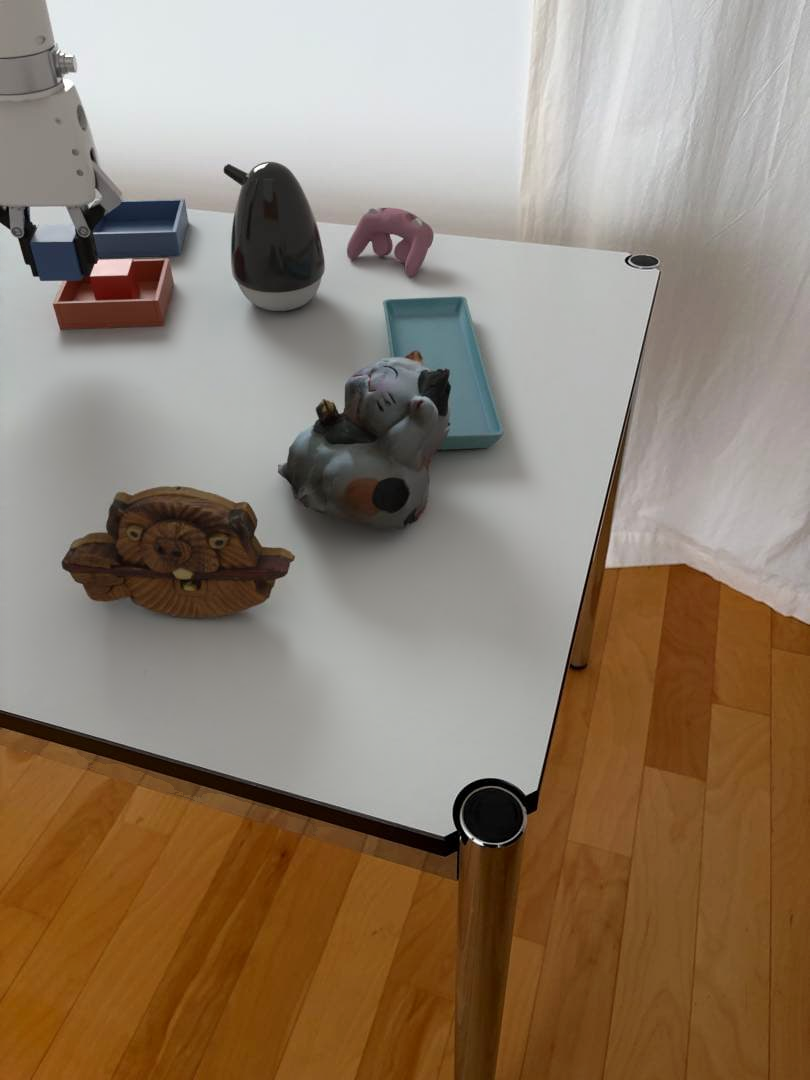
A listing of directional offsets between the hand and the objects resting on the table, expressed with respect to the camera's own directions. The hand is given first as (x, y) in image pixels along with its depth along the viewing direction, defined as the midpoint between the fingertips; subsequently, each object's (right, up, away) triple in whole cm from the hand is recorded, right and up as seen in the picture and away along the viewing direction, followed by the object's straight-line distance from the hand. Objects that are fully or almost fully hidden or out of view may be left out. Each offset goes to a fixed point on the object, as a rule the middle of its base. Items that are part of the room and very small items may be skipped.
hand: (64, 268), depth 89 cm
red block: (+2, 0, +11) cm, 11 cm away
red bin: (+2, -1, +11) cm, 12 cm away
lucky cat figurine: (+30, -23, -12) cm, 40 cm away
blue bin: (0, +11, +24) cm, 26 cm away
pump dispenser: (+20, 0, +13) cm, 23 cm away
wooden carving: (+18, -32, -22) cm, 43 cm away
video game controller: (+32, +7, +20) cm, 38 cm away
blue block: (0, 0, 0) cm, 0 cm away
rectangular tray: (+37, -11, +1) cm, 39 cm away
